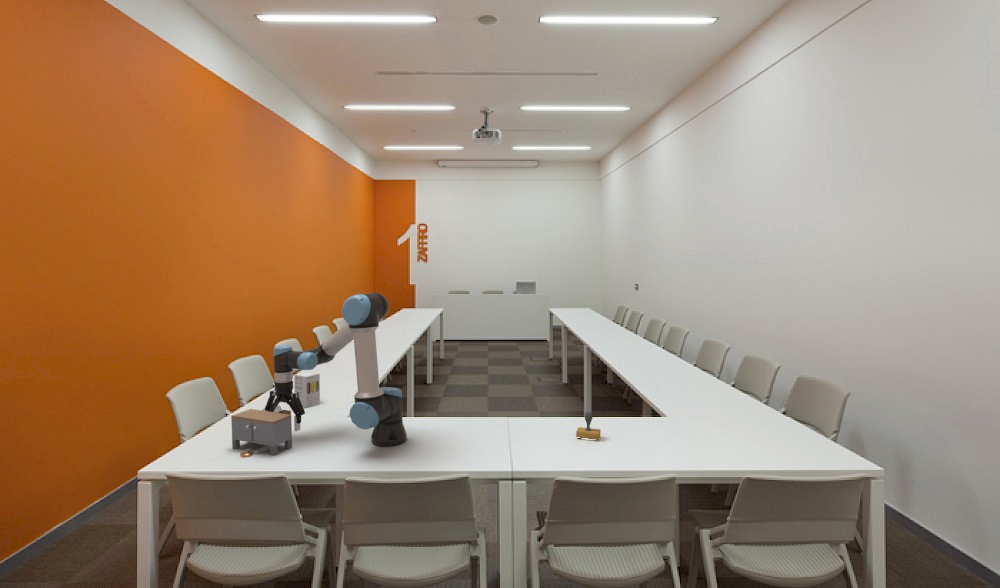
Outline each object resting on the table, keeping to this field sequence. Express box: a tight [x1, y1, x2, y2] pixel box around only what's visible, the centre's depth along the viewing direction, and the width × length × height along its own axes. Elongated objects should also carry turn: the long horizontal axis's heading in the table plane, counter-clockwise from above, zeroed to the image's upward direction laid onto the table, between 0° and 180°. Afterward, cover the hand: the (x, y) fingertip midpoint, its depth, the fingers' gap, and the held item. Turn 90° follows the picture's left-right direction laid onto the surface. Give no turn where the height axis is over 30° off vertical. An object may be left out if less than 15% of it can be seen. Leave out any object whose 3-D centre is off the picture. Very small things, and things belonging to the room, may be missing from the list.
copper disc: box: [239, 451, 253, 458], centre depth 211 cm, size 4×4×1 cm
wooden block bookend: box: [244, 409, 292, 455], centre depth 222 cm, size 6×20×12 cm, turn 159°
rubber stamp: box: [575, 411, 601, 441], centre depth 232 cm, size 10×6×12 cm, turn 72°
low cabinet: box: [230, 408, 293, 457], centre depth 218 cm, size 22×11×14 cm, turn 69°
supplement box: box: [293, 371, 321, 409], centre depth 281 cm, size 10×9×17 cm
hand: (285, 428), depth 231 cm, fingers open, 13 cm apart
